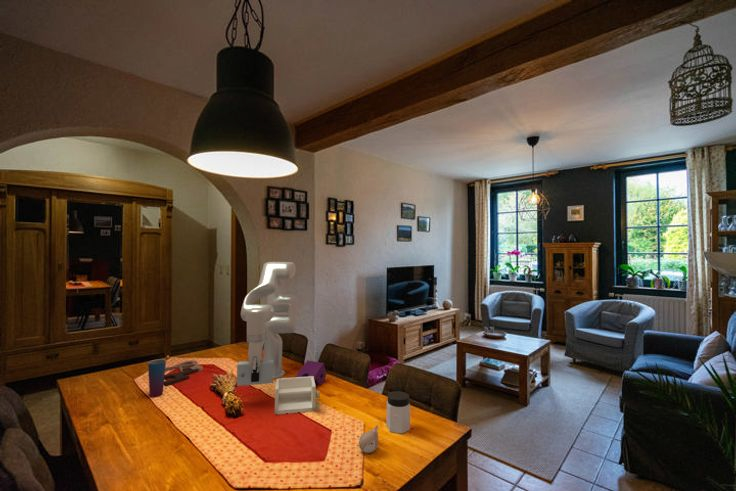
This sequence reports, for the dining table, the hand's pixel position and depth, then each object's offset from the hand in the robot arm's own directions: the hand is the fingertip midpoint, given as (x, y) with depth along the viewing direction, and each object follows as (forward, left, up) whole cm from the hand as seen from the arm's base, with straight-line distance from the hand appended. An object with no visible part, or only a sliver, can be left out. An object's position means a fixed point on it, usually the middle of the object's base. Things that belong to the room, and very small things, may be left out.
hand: (255, 379), depth 145 cm
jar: (+52, +35, -10) cm, 64 cm away
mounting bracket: (-4, +27, -11) cm, 29 cm away
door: (0, 0, -2) cm, 2 cm away
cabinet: (+14, +13, -10) cm, 22 cm away
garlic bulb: (+57, +17, -10) cm, 60 cm away
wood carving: (-59, -19, -11) cm, 63 cm away
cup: (-34, -33, -10) cm, 48 cm away
